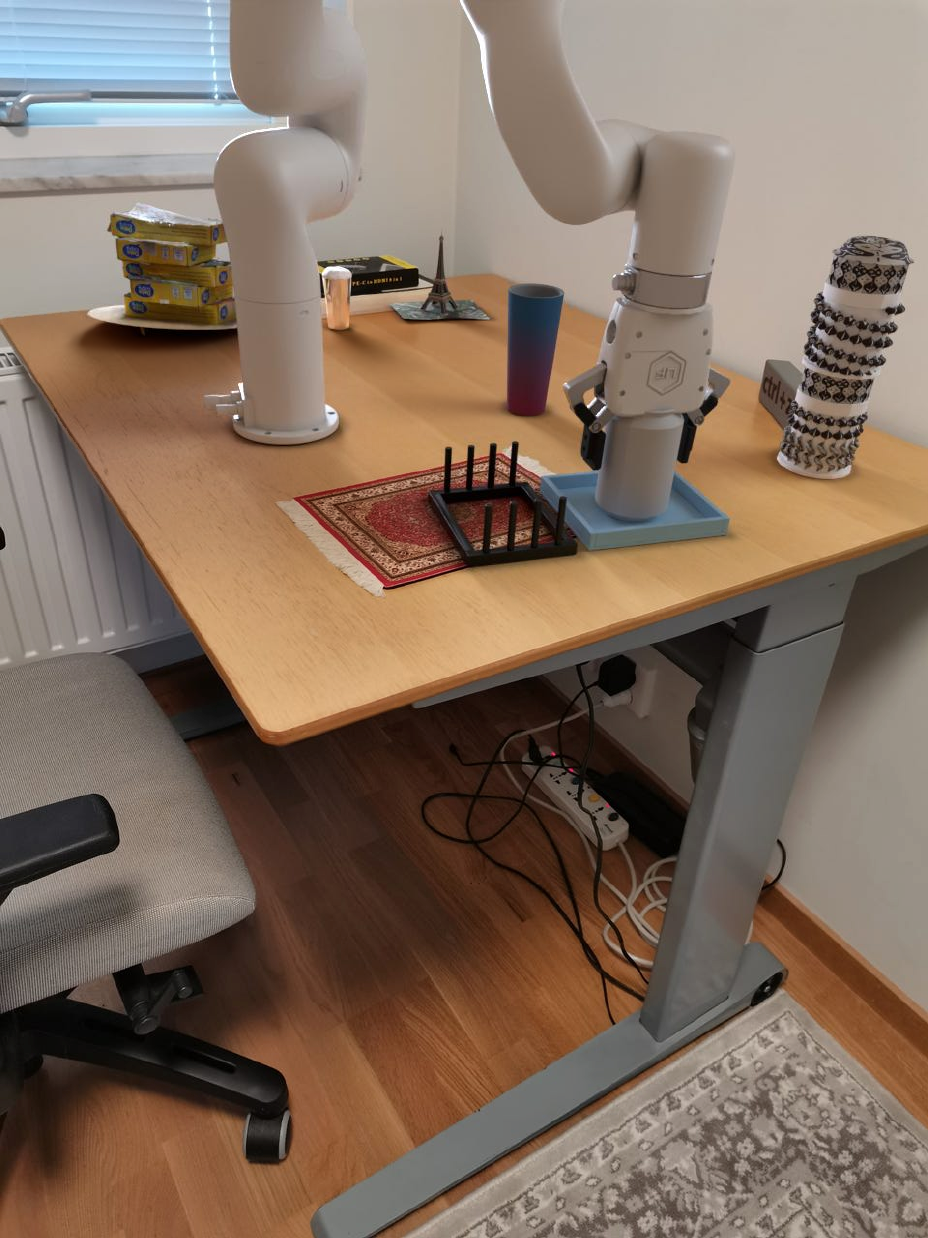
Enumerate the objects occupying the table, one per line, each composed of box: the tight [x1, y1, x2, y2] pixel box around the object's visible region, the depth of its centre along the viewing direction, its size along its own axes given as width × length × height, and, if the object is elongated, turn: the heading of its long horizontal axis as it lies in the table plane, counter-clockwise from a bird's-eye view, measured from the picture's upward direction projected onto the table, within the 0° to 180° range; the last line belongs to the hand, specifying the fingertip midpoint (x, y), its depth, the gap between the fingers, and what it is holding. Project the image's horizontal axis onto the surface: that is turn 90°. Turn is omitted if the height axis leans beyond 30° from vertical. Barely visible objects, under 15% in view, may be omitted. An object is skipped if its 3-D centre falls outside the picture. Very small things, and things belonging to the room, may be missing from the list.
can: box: [595, 409, 684, 522], centre depth 91 cm, size 8×8×12 cm
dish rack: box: [427, 440, 579, 568], centre depth 89 cm, size 11×14×6 cm
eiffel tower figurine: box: [389, 228, 491, 321], centre depth 150 cm, size 15×10×13 cm
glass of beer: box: [321, 261, 357, 331], centre depth 141 cm, size 4×5×10 cm
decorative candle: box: [776, 235, 915, 480], centre depth 100 cm, size 9×9×25 cm
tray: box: [539, 470, 731, 552], centre depth 94 cm, size 15×13×2 cm
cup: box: [506, 282, 565, 417], centre depth 114 cm, size 7×7×15 cm
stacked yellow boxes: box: [87, 202, 237, 336], centre depth 135 cm, size 25×25×17 cm
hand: (634, 461), depth 91 cm, fingers open, 9 cm apart
